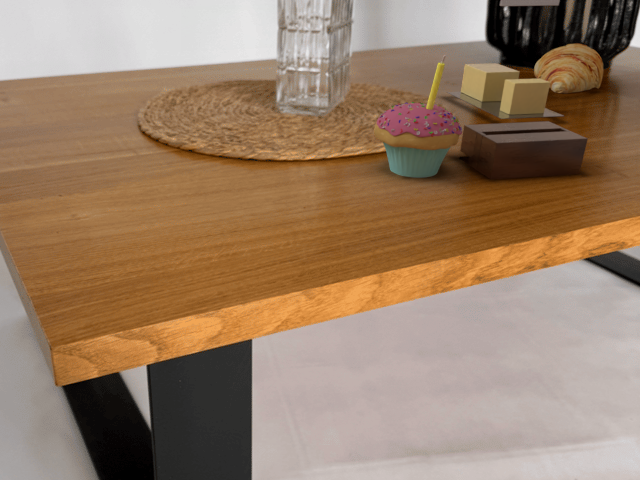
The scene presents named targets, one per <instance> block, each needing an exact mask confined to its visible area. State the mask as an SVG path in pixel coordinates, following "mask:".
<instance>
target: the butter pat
mask: <svg viewBox="0 0 640 480" xmlns="http://www.w3.org/2000/svg"><path fill="white" fill-rule="evenodd" d="M549 86H550V82H548V81H545V80H542V79H540V78H539V79H537V78H518V79H507V80H505V83H504V89H503V94H502V100H501V106H500V111H502V112H504V113H507V114H509V115H516V114H540V113H544V110H545V108H546V106H547V100H548V95H549V91H550V88H549Z"/></svg>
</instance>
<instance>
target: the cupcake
mask: <svg viewBox="0 0 640 480" xmlns="http://www.w3.org/2000/svg"><path fill="white" fill-rule="evenodd" d="M446 57H447V54H444V55H443V56H442V58H441V61H440V62H438V63H437V66H436V70H435V72H434V73H435V74H434V76H433V81H432V85H431V88H430V92H429V96H428V100H427V103H424V102H414V101H412V102H410V103H408V102H404V103H399V102H398V103H397V104H395V105H392V106H391V107H390V108H389V109H386V110H384V111H383V113H381V114H380V115H379V116H378V118H377V120H376V123H375V125H374V129H373V135H374V137H375V138H376V140H378V141H379V142H382V143H383V146H384V150H385V152H386V157H387V161H388V166H389V171H391V172H392V173H393V174H395V175H399V176H402V177H407V178H415V179H416V178H417V179H419V178H420V179H422V178H430V177H433V176H436V175H437V174H438V172H439V170H440V167H441V165H442V164H443V161H444V159H445V158H446V156H447V154H448V153H449V151H450V150H451V147H453V146H454V147H455V146H456V145H457V144H458V142H459V138H460V136H461V135H463V126H461V124H460V122H459V119H458V118H457V116H455V115H453V112H451V111H450V110H447V108H446V107H445V108H444V107H442V106H441V105H440V104H437V103H435V102H436V98H437V96H438V91H439V87H440V85H441V81H442V78H443V77H442V76H443V74H444V70H445V66H446V63H444V62H445V60H446Z"/></svg>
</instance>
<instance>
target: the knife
mask: <svg viewBox="0 0 640 480" xmlns="http://www.w3.org/2000/svg"><path fill="white" fill-rule="evenodd" d="M560 2H561V0H500V1H499V6H500V7H548V6H549V7H551V6H555V7H556V6H557V7H558V6H560Z"/></svg>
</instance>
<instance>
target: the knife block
mask: <svg viewBox="0 0 640 480" xmlns="http://www.w3.org/2000/svg"><path fill="white" fill-rule="evenodd" d="M588 140H589V138H588V137H585V136H583V135H580V134H579V133H576V132H574V131H572V130H569V129H567V128H565V127H563V126H560V125H558V124H556V123H554V122H551V121H549V120H545V121H525V122H502V123H479V124H464V125H463V129H462V136H461V144H460V148H459V149H460V150H459V151H460V152H461V153H462V154H464V155H465V156H459V157H458V160H460V161H461V162H463V163H465V164H466V165H468V166H469V167H470V168H472V169H474V170H475V171H477V172H478V173H480V174H482V175H483V176H484V177H486V178H488V179H489V180H501V179H502V180H503V179H504V180H505V179H520V178H521V179H522V178H535V177H536V178H537V177H551V176H570V175H580V173H581V169H582V164H583V160H584V156H585V153H586V148H587V144H588Z"/></svg>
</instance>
